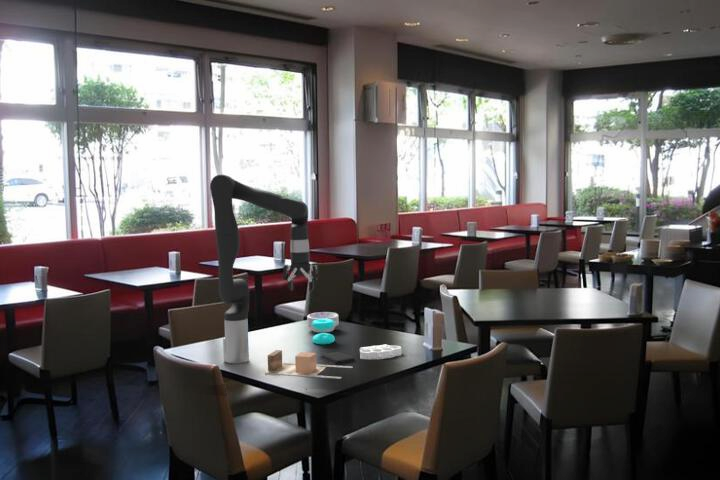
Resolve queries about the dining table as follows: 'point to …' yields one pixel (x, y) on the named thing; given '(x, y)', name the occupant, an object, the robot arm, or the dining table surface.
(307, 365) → the block
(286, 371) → the wooden stand
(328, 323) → the donuts
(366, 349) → the white brass knuckles
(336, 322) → the clear glass round bowl
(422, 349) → the dining table surface
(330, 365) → the rails
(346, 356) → the carrying case or bag
